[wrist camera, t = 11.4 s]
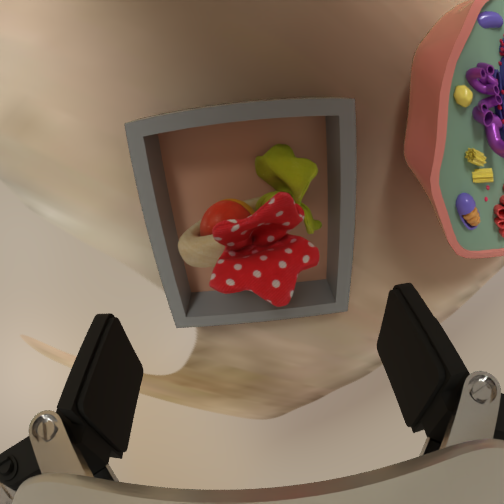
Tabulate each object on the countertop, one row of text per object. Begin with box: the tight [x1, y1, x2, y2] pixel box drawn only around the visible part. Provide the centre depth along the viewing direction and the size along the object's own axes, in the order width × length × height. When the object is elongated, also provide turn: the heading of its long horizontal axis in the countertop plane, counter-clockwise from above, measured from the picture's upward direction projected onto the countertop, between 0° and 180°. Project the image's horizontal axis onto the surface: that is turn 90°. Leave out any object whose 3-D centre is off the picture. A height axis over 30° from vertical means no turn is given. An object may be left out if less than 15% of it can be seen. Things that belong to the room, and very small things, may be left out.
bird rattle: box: [178, 144, 322, 307], centre depth 17 cm, size 6×11×9 cm
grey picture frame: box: [125, 97, 356, 328], centre depth 20 cm, size 15×13×4 cm
